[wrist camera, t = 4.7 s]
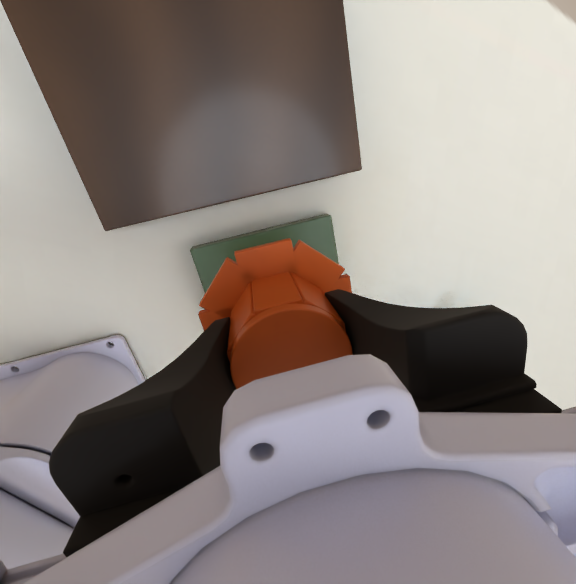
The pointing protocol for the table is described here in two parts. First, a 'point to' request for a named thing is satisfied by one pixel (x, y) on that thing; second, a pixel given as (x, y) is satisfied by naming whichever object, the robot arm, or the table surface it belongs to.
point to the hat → (277, 309)
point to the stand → (192, 97)
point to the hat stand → (307, 230)
